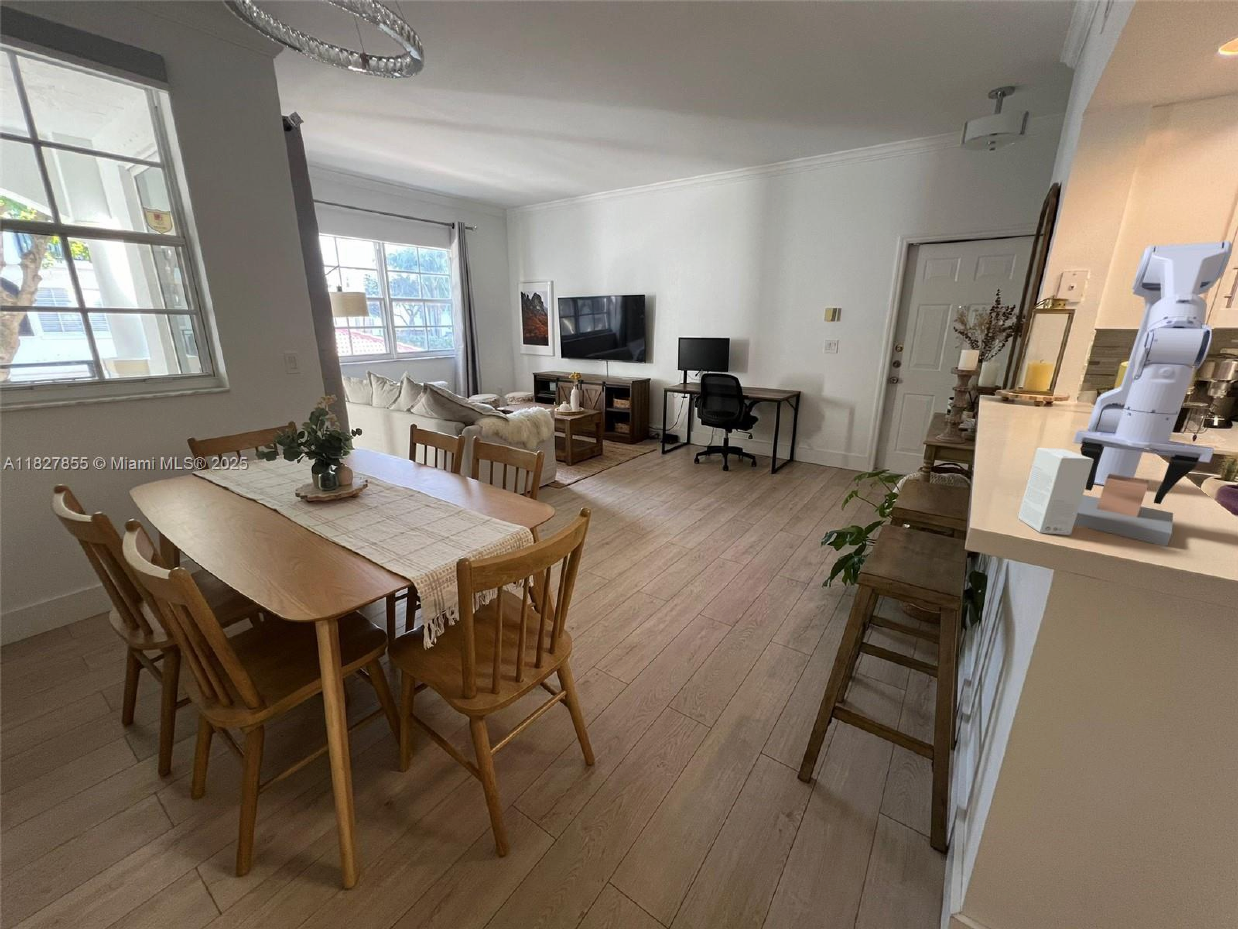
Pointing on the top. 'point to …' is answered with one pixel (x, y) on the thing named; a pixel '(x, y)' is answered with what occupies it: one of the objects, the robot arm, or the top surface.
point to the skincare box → (1055, 490)
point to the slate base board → (1126, 522)
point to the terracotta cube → (1123, 495)
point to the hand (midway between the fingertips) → (1121, 495)
